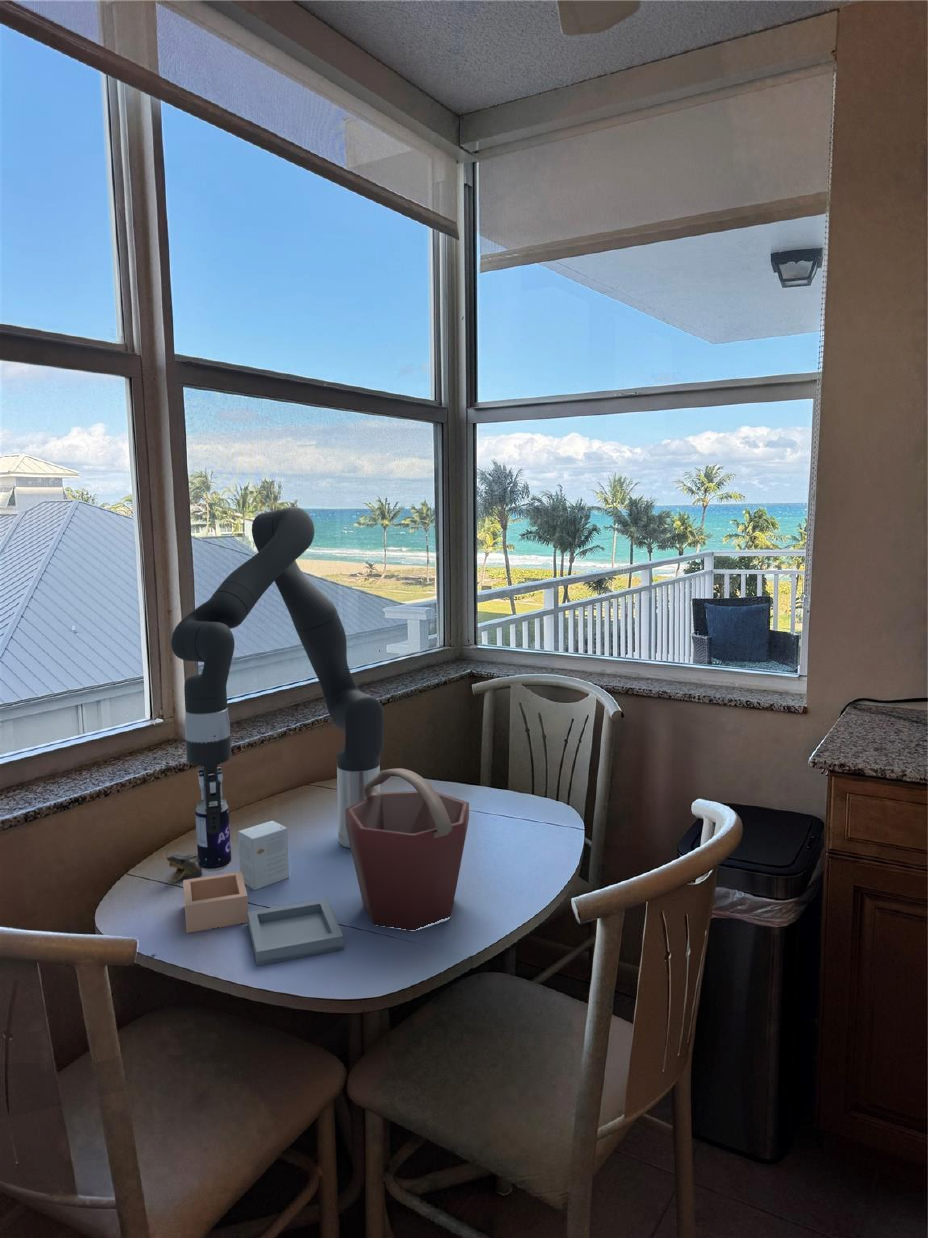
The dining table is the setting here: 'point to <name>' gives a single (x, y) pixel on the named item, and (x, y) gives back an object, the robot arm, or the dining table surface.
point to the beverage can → (213, 839)
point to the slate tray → (294, 931)
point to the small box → (263, 854)
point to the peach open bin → (215, 901)
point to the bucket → (407, 851)
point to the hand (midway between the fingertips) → (212, 826)
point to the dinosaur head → (184, 866)
